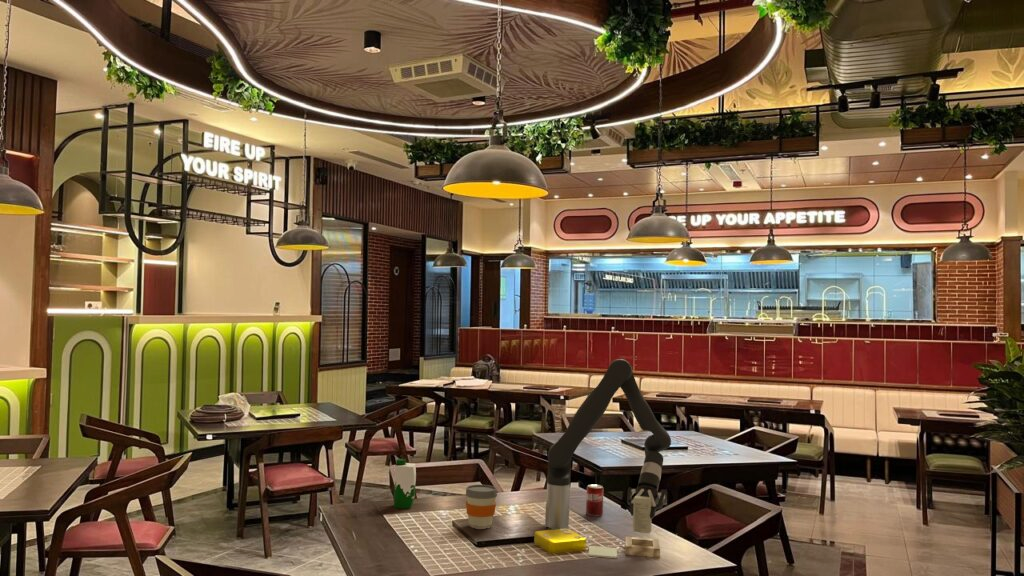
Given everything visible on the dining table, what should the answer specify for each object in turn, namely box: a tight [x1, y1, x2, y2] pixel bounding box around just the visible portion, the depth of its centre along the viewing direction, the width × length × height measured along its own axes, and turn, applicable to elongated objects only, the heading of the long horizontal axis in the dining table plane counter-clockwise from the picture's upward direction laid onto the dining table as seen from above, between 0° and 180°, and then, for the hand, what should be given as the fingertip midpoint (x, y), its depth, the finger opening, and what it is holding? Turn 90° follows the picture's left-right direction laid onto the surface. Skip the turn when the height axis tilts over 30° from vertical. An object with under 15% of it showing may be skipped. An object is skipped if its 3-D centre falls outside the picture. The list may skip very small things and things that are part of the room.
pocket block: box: [624, 536, 661, 559], centre depth 258 cm, size 12×12×3 cm
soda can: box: [585, 484, 605, 517], centre depth 308 cm, size 7×7×12 cm
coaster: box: [587, 545, 618, 559], centre depth 254 cm, size 10×10×1 cm
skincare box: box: [632, 495, 653, 534], centre depth 259 cm, size 6×4×12 cm
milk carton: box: [393, 458, 417, 510], centre depth 310 cm, size 9×9×20 cm
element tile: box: [533, 528, 587, 554], centre depth 261 cm, size 15×15×5 cm
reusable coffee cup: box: [465, 484, 498, 526], centre depth 283 cm, size 13×13×15 cm
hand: (641, 515), depth 258 cm, fingers closed on skincare box, 6 cm apart
